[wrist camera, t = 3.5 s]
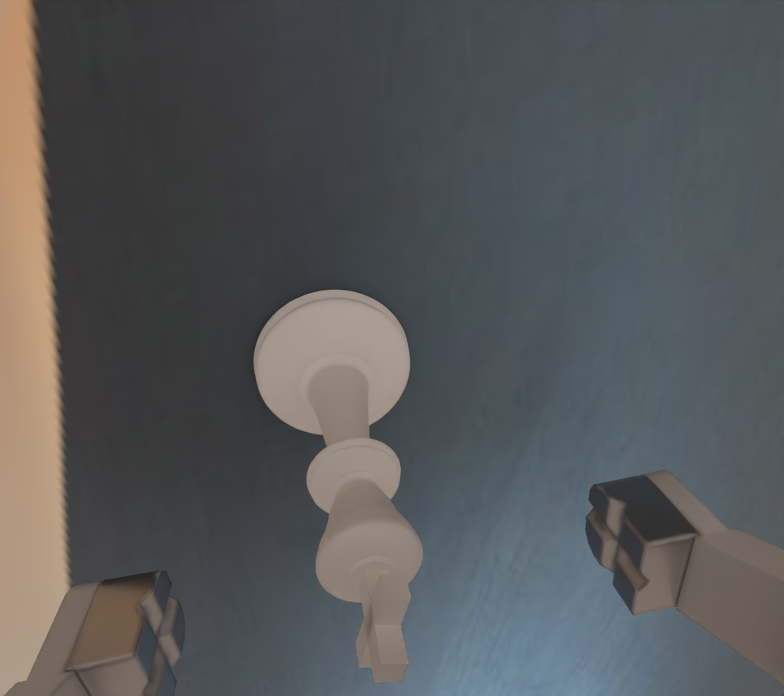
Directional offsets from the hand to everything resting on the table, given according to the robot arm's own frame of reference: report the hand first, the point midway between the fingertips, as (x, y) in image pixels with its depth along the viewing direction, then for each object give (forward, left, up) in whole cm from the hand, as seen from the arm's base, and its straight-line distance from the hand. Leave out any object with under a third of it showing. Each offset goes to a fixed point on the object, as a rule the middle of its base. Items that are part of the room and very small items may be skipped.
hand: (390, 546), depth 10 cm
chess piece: (0, 0, -8) cm, 8 cm away
